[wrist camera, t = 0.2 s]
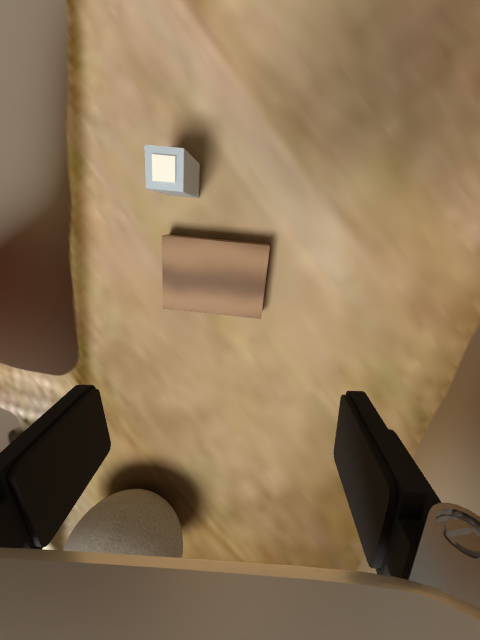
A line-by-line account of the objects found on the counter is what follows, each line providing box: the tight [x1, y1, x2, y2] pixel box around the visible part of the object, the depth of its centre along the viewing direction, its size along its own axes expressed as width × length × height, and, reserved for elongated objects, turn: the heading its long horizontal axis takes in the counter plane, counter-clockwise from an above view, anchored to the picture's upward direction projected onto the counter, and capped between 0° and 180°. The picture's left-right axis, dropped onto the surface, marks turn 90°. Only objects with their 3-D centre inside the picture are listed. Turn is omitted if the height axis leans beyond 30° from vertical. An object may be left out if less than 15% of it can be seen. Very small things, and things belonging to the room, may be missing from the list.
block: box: [145, 145, 200, 198], centre depth 31 cm, size 4×4×8 cm
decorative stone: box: [63, 489, 183, 558], centre depth 47 cm, size 20×20×20 cm
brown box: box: [162, 234, 270, 319], centre depth 38 cm, size 10×14×3 cm
